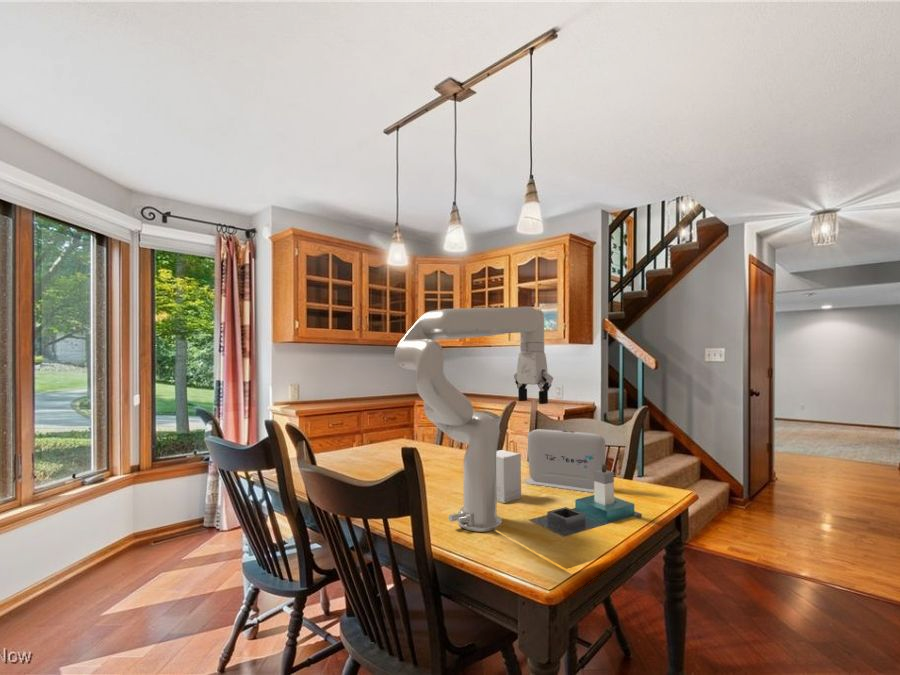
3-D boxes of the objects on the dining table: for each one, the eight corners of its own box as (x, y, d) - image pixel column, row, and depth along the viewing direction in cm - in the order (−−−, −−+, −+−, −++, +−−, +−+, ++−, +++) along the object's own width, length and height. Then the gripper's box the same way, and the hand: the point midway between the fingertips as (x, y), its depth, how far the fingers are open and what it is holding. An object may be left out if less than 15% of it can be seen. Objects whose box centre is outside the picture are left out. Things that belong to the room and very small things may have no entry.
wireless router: (520, 483, 171) (520, 430, 171) (528, 477, 179) (528, 426, 180) (607, 495, 156) (606, 437, 157) (612, 488, 165) (611, 432, 166)
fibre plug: (605, 514, 135) (604, 467, 135) (594, 510, 138) (593, 464, 139) (614, 512, 137) (613, 465, 137) (603, 508, 140) (602, 462, 141)
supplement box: (522, 498, 154) (521, 453, 154) (504, 504, 148) (504, 457, 148) (502, 491, 161) (501, 449, 161) (484, 497, 155) (484, 453, 155)
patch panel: (563, 540, 119) (563, 525, 119) (528, 523, 131) (528, 509, 131) (641, 517, 136) (641, 503, 136) (603, 503, 148) (603, 491, 148)
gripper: (506, 348, 151) (506, 400, 151) (542, 348, 136) (542, 405, 136) (523, 348, 155) (524, 399, 154) (560, 348, 140) (561, 404, 140)
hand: (532, 402), depth 145 cm, fingers open, 9 cm apart
